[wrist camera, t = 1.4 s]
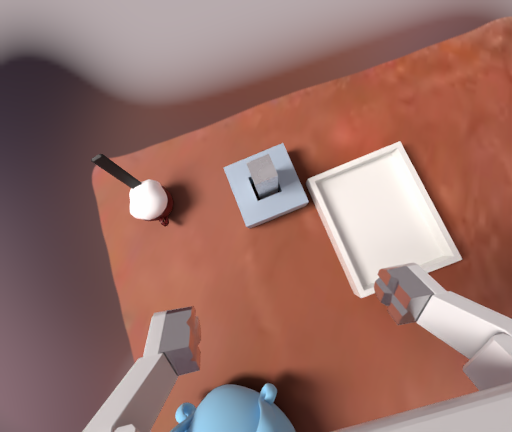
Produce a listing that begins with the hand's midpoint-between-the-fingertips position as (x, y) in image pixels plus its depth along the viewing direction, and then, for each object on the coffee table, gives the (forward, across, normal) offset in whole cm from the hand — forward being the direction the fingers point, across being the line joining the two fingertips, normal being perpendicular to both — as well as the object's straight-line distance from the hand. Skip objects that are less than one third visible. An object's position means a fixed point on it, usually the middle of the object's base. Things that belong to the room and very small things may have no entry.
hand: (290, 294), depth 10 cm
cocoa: (+31, +14, +11) cm, 36 cm away
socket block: (+28, -4, +10) cm, 30 cm away
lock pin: (+28, -4, +10) cm, 30 cm away
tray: (+20, -20, +14) cm, 32 cm away
